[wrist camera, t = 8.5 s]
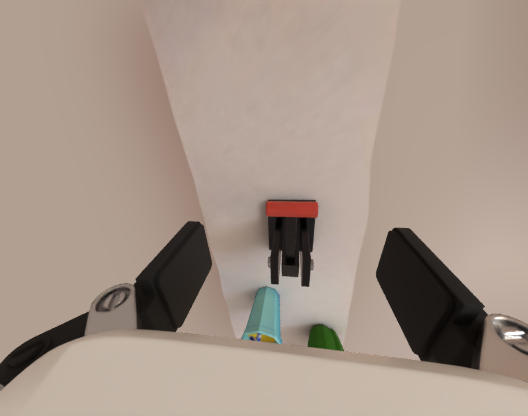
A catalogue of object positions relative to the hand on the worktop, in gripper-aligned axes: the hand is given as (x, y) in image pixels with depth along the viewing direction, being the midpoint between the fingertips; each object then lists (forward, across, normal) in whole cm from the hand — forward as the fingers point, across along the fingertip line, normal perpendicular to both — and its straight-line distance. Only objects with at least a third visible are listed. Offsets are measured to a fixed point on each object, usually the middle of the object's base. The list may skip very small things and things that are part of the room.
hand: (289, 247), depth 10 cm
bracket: (+22, 0, +12) cm, 25 cm away
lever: (+12, 0, +7) cm, 14 cm away
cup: (+22, +5, +30) cm, 38 cm away
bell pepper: (+21, -8, +42) cm, 48 cm away
